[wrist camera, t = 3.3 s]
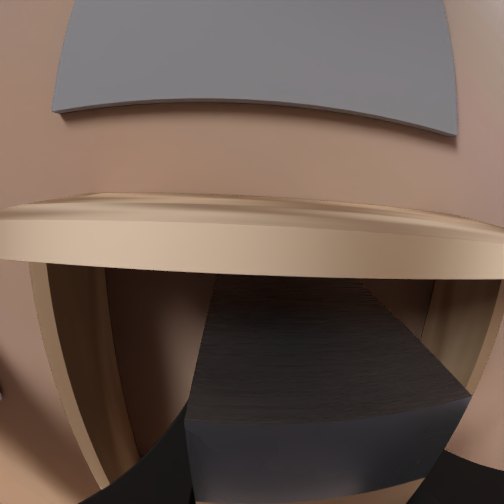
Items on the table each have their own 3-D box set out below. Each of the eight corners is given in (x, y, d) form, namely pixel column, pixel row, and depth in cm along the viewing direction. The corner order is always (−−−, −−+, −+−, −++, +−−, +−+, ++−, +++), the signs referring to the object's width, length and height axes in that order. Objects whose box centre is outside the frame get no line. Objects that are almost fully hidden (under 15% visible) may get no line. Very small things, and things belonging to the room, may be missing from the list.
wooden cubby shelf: (131, 464, 12) (104, 555, 6) (87, 193, 9) (-50, 221, 3) (381, 463, 13) (416, 545, 7) (456, 215, 10) (582, 253, 4)
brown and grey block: (219, 451, 12) (213, 584, 5) (220, 261, 10) (184, 421, 3) (306, 450, 12) (334, 577, 5) (342, 266, 10) (472, 395, 3)
